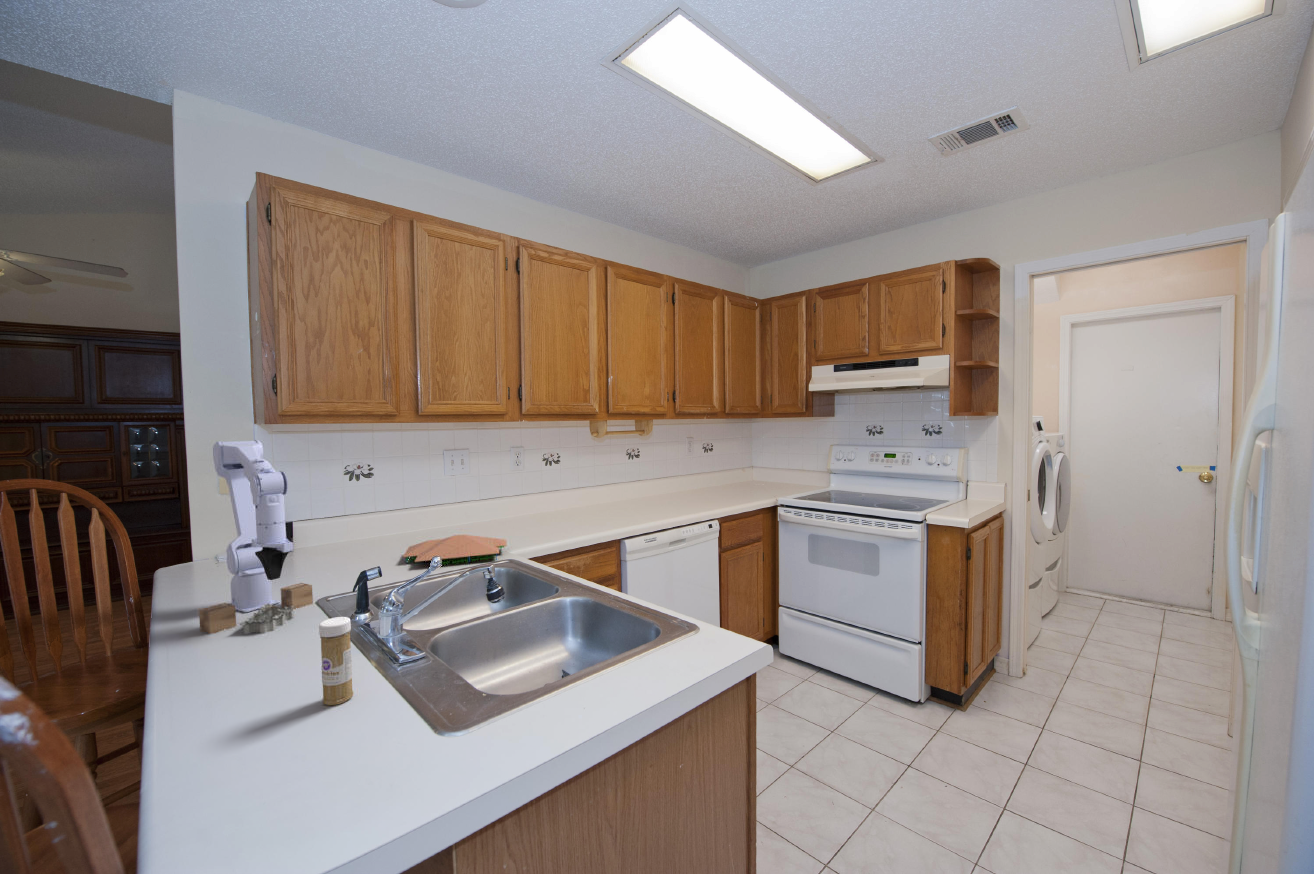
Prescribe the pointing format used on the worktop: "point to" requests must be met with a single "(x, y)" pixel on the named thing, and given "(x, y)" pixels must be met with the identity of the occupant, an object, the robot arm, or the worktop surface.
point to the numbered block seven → (217, 618)
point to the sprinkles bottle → (336, 660)
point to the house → (455, 548)
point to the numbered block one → (296, 595)
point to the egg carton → (267, 619)
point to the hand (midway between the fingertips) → (273, 578)
